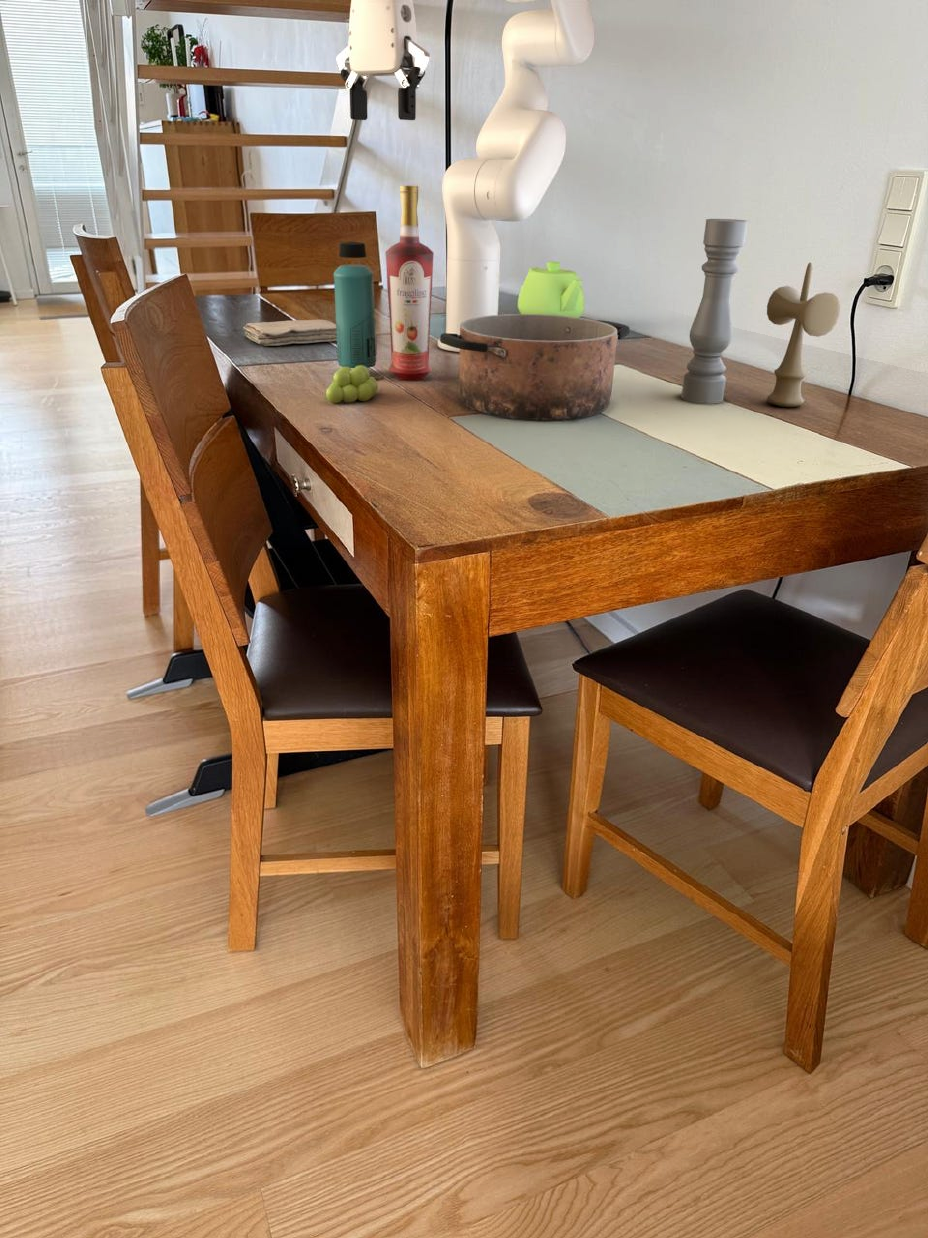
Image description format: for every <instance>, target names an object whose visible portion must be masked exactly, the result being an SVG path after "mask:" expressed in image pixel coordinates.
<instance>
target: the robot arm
mask: <svg viewBox="0 0 928 1238" xmlns="http://www.w3.org/2000/svg"><path fill="white" fill-rule="evenodd" d="M504 1H506V2H510V3H531V2H540V1H543V0H504ZM549 1H550V4H551V7H552V8H547V9H535V10H533V9H532V10H526V11H522V12H519V13H516V14H515V15H513V16H512V17H510V18H509V19H508V21H507V22H506V23H505V25H504V28H503V31H502V36H501V51H502V58H503V59H502V60H503V67H504V87H503V90H502V92H501V94H500V96H499V98H498V100H497V101H496V102H495V105H494V106H493V108H492V110H491V111H490V113H489V115H488V117H487V118H486V120H485V122H484V124H483V125H482V127H481V128H480V130H479V133H478V136H477V139H476V144H475V151H476V155H477V157H472V158H463V159H460V160H457V161H455V162H453V163H452V164H450V166H448V168H447V169H446V170H445V172H444V175H443V178H442V182H441V196H442V203H443V209H444V214H445V223H446V237H447V238H446V245H447V246H446V300H445V301H446V307H445V308H446V310H445V315H446V316H445V318H446V319H445V333H452V334H458V335H460V324H461V323H462V322H464V321H466V320H469V319H472V318H477V317H483V316H491V315H499V294H500V293H499V291H500V265H501V263H500V262H501V243H500V238H499V235H498V233H497V231H496V227H495V226H494V223H493V221H496V222H497V221H498V222H514V223H515V222H522V221H524V220H526V219H528V218H529V217H531V216H532V214H534V212H535V211H536V209H537V208H538V206H539V204H540V202H541V201H542V199H543V197H544V196H545V194H546V192H547V190H548V188H549V187H550V185H551V183H552V181H553V180H554V177H556V174H557V172H558V171H559V169H560V166H561V164H562V162H563V159H564V155H565V152H566V145H567V133H566V127H565V124H564V123H563V121H562V119H561V118H560V116H558V115H557V114H555V113H554V112H552V111H549V110H548V108H549V97H548V96H549V95H548V93H547V89H546V87H545V85H544V83H543V81H542V79H541V76H540V72H539V68H551V67H571V66H578V65H581V64H582V63H584V62H585V61H586V60H587V59H588V58H589V57H590V56H591V53H592V50H593V48H594V44H595V25H594V20H593V16H592V12H591V11H592V10H591V8H590V3H589V0H549ZM415 13H416V12H415V6H414V1H413V0H351V1H350V9H349V22H348V45H347V47H345V48H344V49H343V50H342V51H341V52H340V53H339V54H338V55H337V56H336V64H337V66H338V69H339V71H340V77H341V78H342V80H343V82H344V83H345V88H346V89H347V90H349V116H350V119H351V120H355V121H367V119H368V92H367V90H366V89H364V88H365V86H366V84H367V82H368V80H369V79H370V76H373V77H374V76H375V77H391V76H392V77H393V76H394V77H396V79H397V80H398V83H399V84H400V85H401V87H398V90H397V92H398V93H397V102H398V103H397V106H398V107H397V108H398V109H397V115H398V116H397V117H398V119H399V120H401V121H416V113H417V112H416V110H417V105H416V103H417V99H416V98H417V96H416V95H417V90H418V89H419V88H420V86H421V85H420V83H421V81H422V79H423V78H424V76H425V75H426V69H427V66H428V63H429V60H430V58H431V55H430V52H428V51H427V50H426V49H425V48H423V47H422V46H420V45H419V44H418V33H417V21H416V14H415ZM437 347H438V348H439V349H441V350H445V351H449V352H453V353H460V349H459V348H455V347H451V346H448V345H446V344H443V343H441V342H440V338H438V339H437Z"/></svg>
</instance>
